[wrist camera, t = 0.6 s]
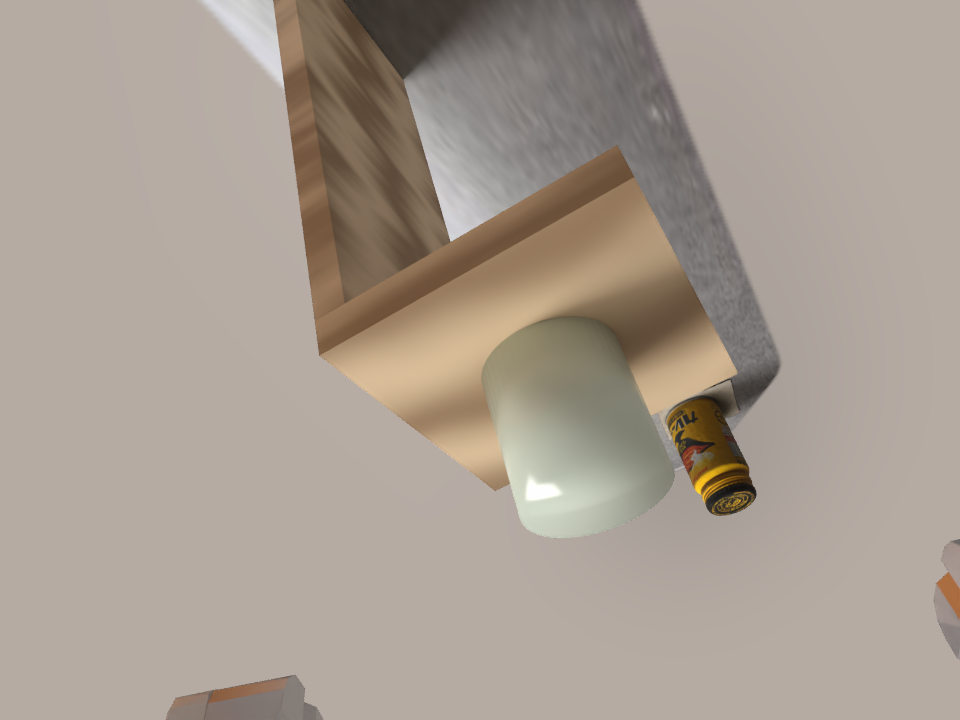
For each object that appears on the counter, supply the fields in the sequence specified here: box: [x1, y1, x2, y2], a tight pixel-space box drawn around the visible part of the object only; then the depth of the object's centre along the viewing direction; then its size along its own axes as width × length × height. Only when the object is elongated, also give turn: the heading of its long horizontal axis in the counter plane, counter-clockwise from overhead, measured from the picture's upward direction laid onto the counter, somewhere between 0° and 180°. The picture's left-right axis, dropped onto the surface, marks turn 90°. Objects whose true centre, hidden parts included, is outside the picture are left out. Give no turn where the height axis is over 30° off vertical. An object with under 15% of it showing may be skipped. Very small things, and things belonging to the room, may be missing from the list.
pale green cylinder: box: [481, 316, 675, 538], centre depth 28 cm, size 5×5×5 cm
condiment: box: [658, 380, 756, 516], centre depth 89 cm, size 7×8×12 cm
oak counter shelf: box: [273, 0, 738, 491], centre depth 39 cm, size 12×11×30 cm
